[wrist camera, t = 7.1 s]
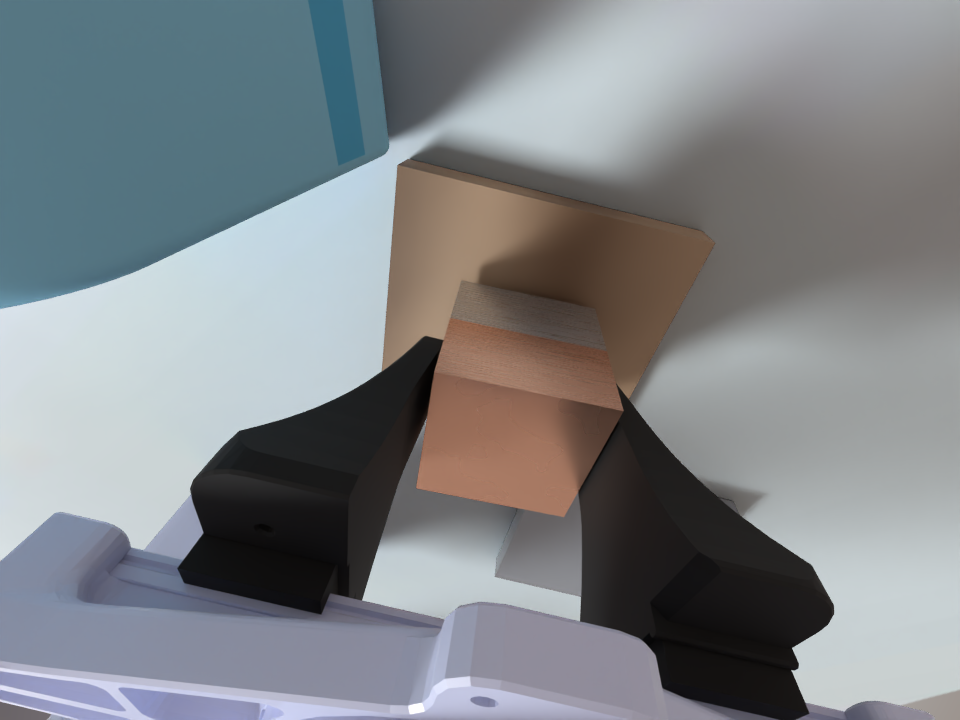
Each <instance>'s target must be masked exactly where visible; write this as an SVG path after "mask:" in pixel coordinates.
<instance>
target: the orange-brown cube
mask: <svg viewBox="0 0 960 720" xmlns="http://www.w3.org/2000/svg"><path fill="white" fill-rule="evenodd" d="M623 411H624V410H623V407H622V403H621V400H620V396H619V393H618V389H617V385H616V382H615V378H614V375H613V371H612V368H611V364H610V360H609V357H608V353H607V350H606V346H605V343H604V339H603V335H602V332H601V328H600V325H599V321H598V318H597V314H596V310H595V309H594V308H590V307H585V306H580V305H576V304H571V303H567V302H562V301H557V300H553V299H548V298H543V297H539V296H534V295H529V294H525V293H520V292H516V291H511V290H506V289H502V288H497V287H492V286H488V285H483V284H479V283H474V282H469V281H465V280H461V283H460V286H459V290H458V293H457V297H456V300H455V303H454V307H453V310H452V313H451V317H450V320H449V324H448V327H447V330H446V334H445V337H444V341H443V344H442V347H441V351H440V354H439V357H438V361H437V364H436V368H435V371H434V377H433V383H432V389H431V396H430V402H429V409H428V415H427V421H426V428H425V434H424V440H423V447H422V453H421V460H420V466H419V472H418V479H417V485H416V488H417V489H422V490H427V491H432V492H437V493H443V494H448V495H453V496H458V497H463V498H468V499H473V500H478V501H484V502H489V503H494V504H499V505H504V506H509V507H514V508H520V509H525V510H530V511H535V512H540V513H545V514H550V515H556V516H561V517H564V516H565V514H566V513H567V511H568V509H569V507H570V505H571V504H572V502H573V500H574V498H575V497H576V495H577V493H578V491H579V489H580V488H581V486H582V484H583V482H584V481H585V479H586V477H587V475H588V473H589V472H590V470H591V468H592V466H593V465H594V463H595V461H596V459H597V457H598V456H599V454H600V452H601V450H602V449H603V447H604V445H605V443H606V441H607V440H608V438H609V436H610V434H611V433H612V431H613V429H614V427H615V425H616V424H617V422H618V420H619V418H620V417H621V415H622V413H623Z"/></svg>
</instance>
